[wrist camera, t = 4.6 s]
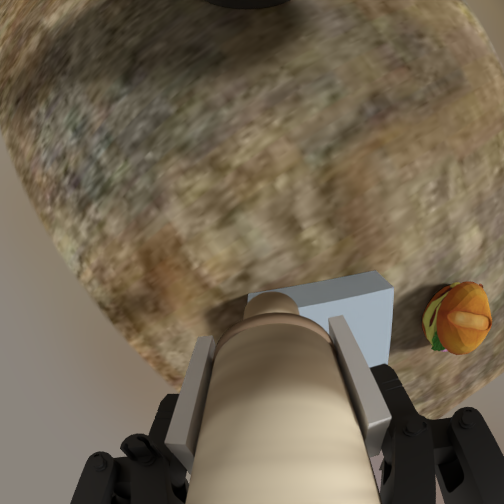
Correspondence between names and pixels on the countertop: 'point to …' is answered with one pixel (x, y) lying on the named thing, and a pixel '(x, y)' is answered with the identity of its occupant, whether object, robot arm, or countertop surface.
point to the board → (350, 309)
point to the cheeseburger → (457, 318)
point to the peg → (279, 417)
